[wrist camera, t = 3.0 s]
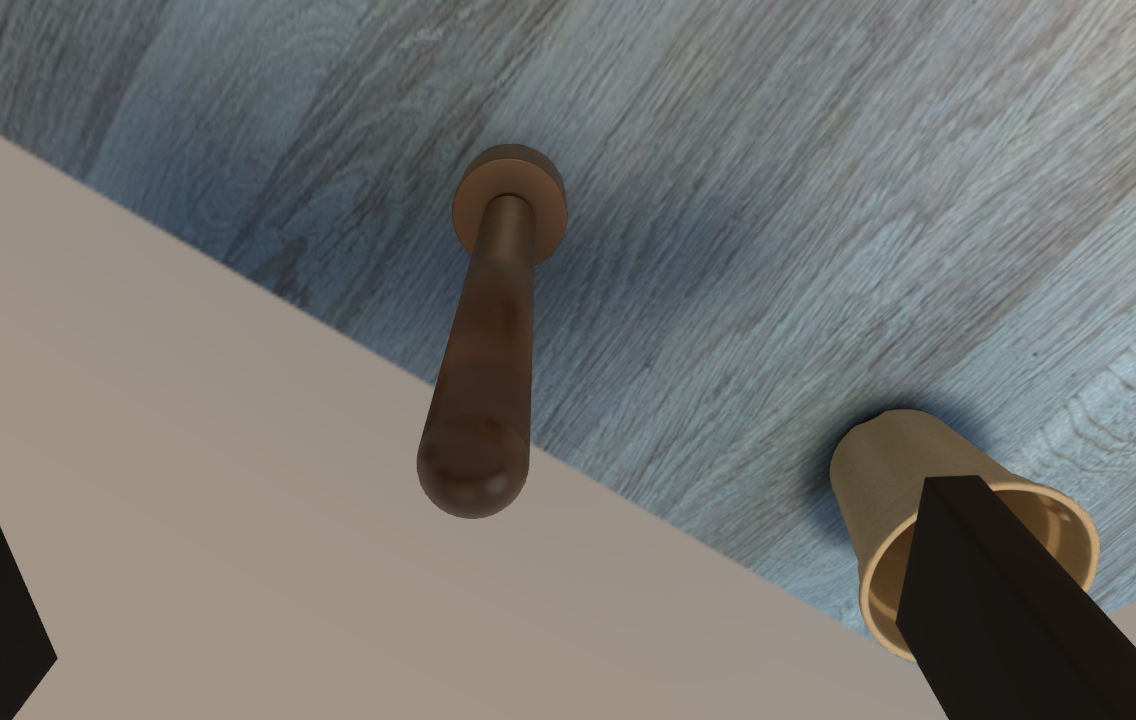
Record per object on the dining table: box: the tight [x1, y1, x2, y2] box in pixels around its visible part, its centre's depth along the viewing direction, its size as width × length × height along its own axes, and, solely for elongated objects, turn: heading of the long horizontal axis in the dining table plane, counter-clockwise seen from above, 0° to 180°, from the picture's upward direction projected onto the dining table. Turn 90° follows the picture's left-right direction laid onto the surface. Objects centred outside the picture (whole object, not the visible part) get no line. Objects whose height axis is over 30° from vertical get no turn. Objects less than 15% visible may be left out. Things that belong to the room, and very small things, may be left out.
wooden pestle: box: [417, 144, 567, 519], centre depth 22 cm, size 4×4×21 cm
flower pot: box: [830, 409, 1100, 663], centre depth 34 cm, size 9×9×9 cm
